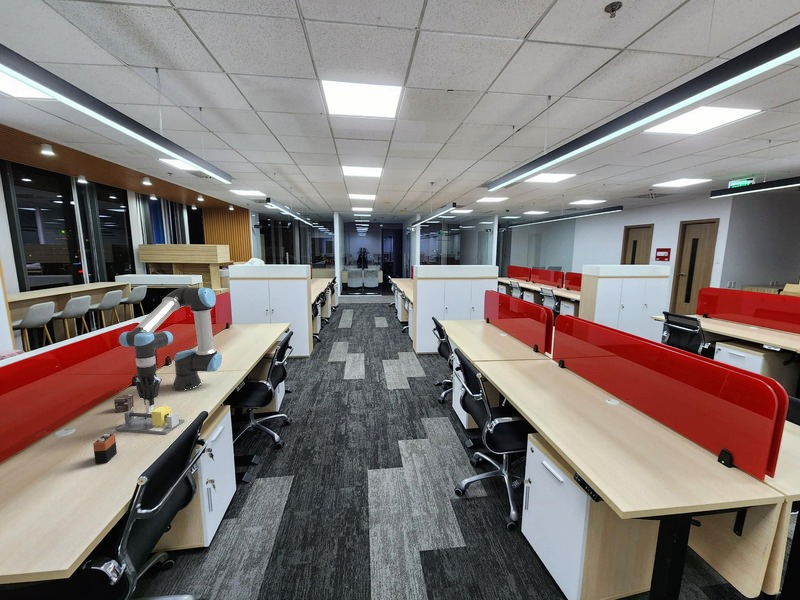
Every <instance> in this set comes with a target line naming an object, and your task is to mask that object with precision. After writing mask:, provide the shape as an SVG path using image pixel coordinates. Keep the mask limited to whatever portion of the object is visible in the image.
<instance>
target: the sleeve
mask: <svg viewBox="0 0 800 600" xmlns="http://www.w3.org/2000/svg"><path fill="white" fill-rule="evenodd" d="M150 414H152V425H158V426H163V425H164V424H166V423H167V419H164V415H170V414H172V407H171V406H167V405H166V406H164V405H161V406H159V407H157V408H154V410H153V411H151V412H150Z"/></svg>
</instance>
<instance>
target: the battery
mask: <svg viewBox="0 0 800 600" xmlns="http://www.w3.org/2000/svg"><path fill="white" fill-rule="evenodd" d="M92 446H93V454H94V463H95V465H99V464H107V463H109V462H110V461H111V460H112V459H113V458H114V457H115V456H116V455H117V453H118V451H117V439H116V434H115V433H112V434H111V433H110V432H106V433H104V434H103V435H102V436H100V437H99V438H98V439H97V440H95V442H94V443H93V444H92Z"/></svg>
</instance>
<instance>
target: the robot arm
mask: <svg viewBox="0 0 800 600" xmlns="http://www.w3.org/2000/svg"><path fill="white" fill-rule="evenodd" d="M216 298H217V296H216V293H215V292H214V291H213V290H212V289H211V288H209V287H201V286H198V287H193V286H191V287H189V286H186V287H185V286H183V287H180V288H177V289H175V290H173V291H171V292H169V293H168V294H167V295H166V296H164V298H162V300H161V303H160V304H158V306H157V307H156V308H155V309H153V311H151V313H149V314H148V315H146V317H145V318H144V319H143V320H142V321H141V322H140V323H139V324H138V325H137V326H136V327H134V328H133V329H132V330H131V331H124V332H121V334H120V335H119V338H118V342H119V345H121V346H122V347H128V348H134V352H135V366H136V367H135V368H136V374H137V377H136V378H134V379H132V381H133V384H135V387H136V390H137V394H138V397H139V399H143V402H144V406H145V413H147V414H151V412H152V411H154V410H155V408H154V404H155V398H158V396H159V392H160V387H161V383H162V381H163V379H162V378H159V377H158V376H157V373H156V372H157V360H156V350H158V349H162V348H164V347H167V346H169V345H171V344H172V343H173V340H174V336H173V334H172V333H171V332H170V331H167V330H163V331H159V332H155V331H156V330H157V329H158V328H159V327H160V326H161V325H162V324H163V323H164V322H165V321H166V320H167V318H169V317H170V315H171V314H173V312H175V311H178V310H179V309H180V308H183V307H189V310H190V312H191V313H193V318H194V326H195V333H196V340H197V341H196V343H197V350H196V349H193V348H192V349H186V350H183V351H179V352H177V353H175V355H174V367H175V368H174V369H175V370H174V371H175V379H174V381H173V384H172V389H173V388H174V389H175V390H174V389H173V390H174V391H177V390H185V389H190V388H193V387H195V386H198V385H199V384H200V383H201V384H202V380H201V378H200V376H199V374H198V372H204V373H205V372H208V373H211V372H216V371H218V369H219V368H220V366H221V364H222V363H223V356H222V354H221V353H220V352H218V348H216V347H215V345H214V336H213V327H212V317H211V311H212V310H213V307H214V306H215V305H216V302H217V299H216ZM185 391H186V390H185Z"/></svg>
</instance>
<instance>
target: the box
mask: <svg viewBox="0 0 800 600" xmlns="http://www.w3.org/2000/svg"><path fill="white" fill-rule="evenodd" d="M134 405H135V404H134V394H121V395H118V396H117V397H116V398H115V399H114V412H115V413H125V412H127V411H129V410H132V409H131V408H132V407H133V408H134Z"/></svg>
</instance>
